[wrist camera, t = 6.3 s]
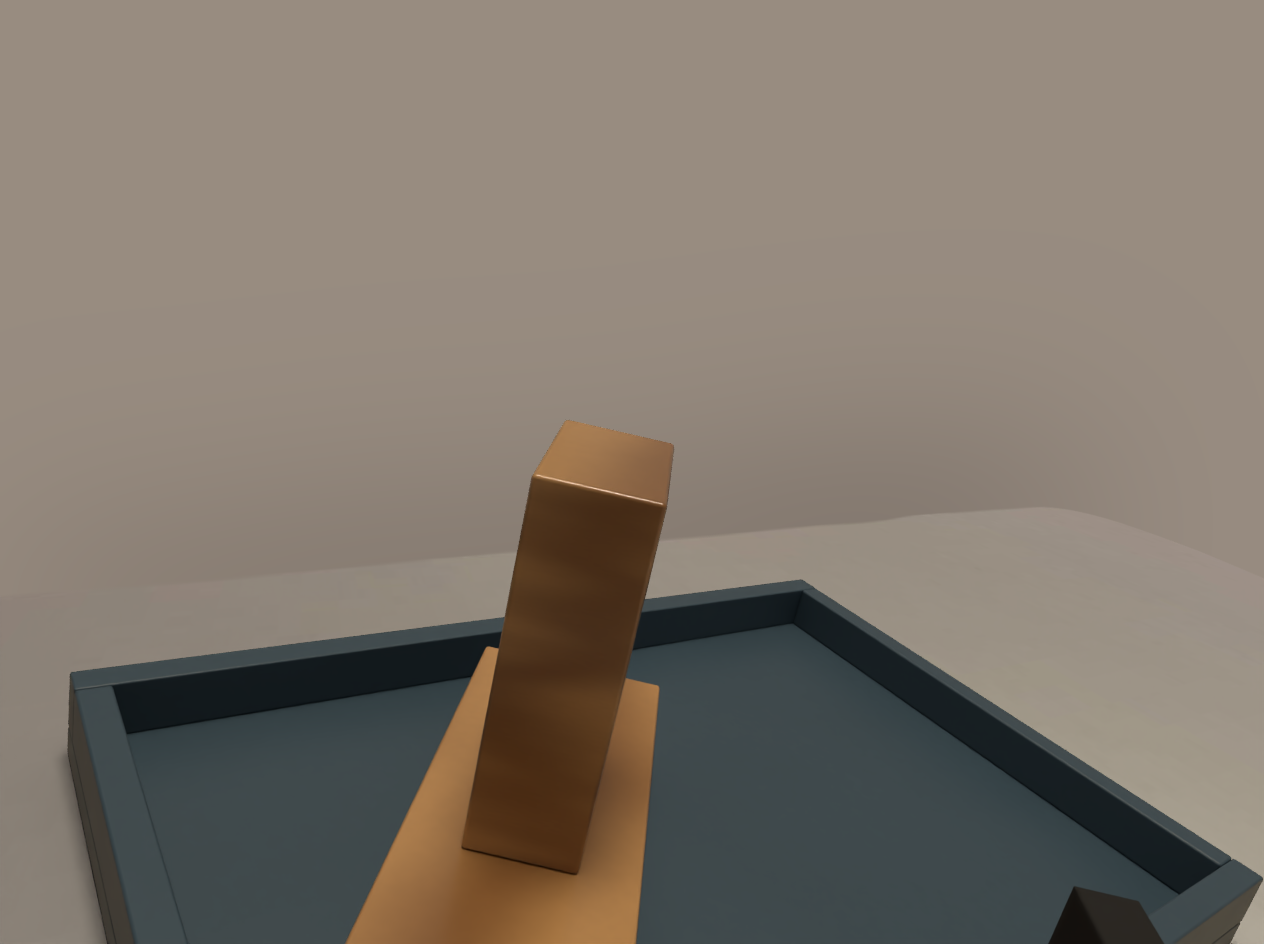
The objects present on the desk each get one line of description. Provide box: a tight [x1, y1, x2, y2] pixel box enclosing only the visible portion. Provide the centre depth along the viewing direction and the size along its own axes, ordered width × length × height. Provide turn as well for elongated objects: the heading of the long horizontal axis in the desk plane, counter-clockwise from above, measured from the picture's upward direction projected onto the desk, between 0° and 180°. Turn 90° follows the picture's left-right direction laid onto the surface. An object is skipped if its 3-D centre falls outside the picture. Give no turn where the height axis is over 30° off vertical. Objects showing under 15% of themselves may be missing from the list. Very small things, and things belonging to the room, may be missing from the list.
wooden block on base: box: [345, 420, 674, 944], centre depth 19 cm, size 5×12×10 cm, turn 176°
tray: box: [68, 580, 1263, 944], centre depth 24 cm, size 18×26×2 cm
